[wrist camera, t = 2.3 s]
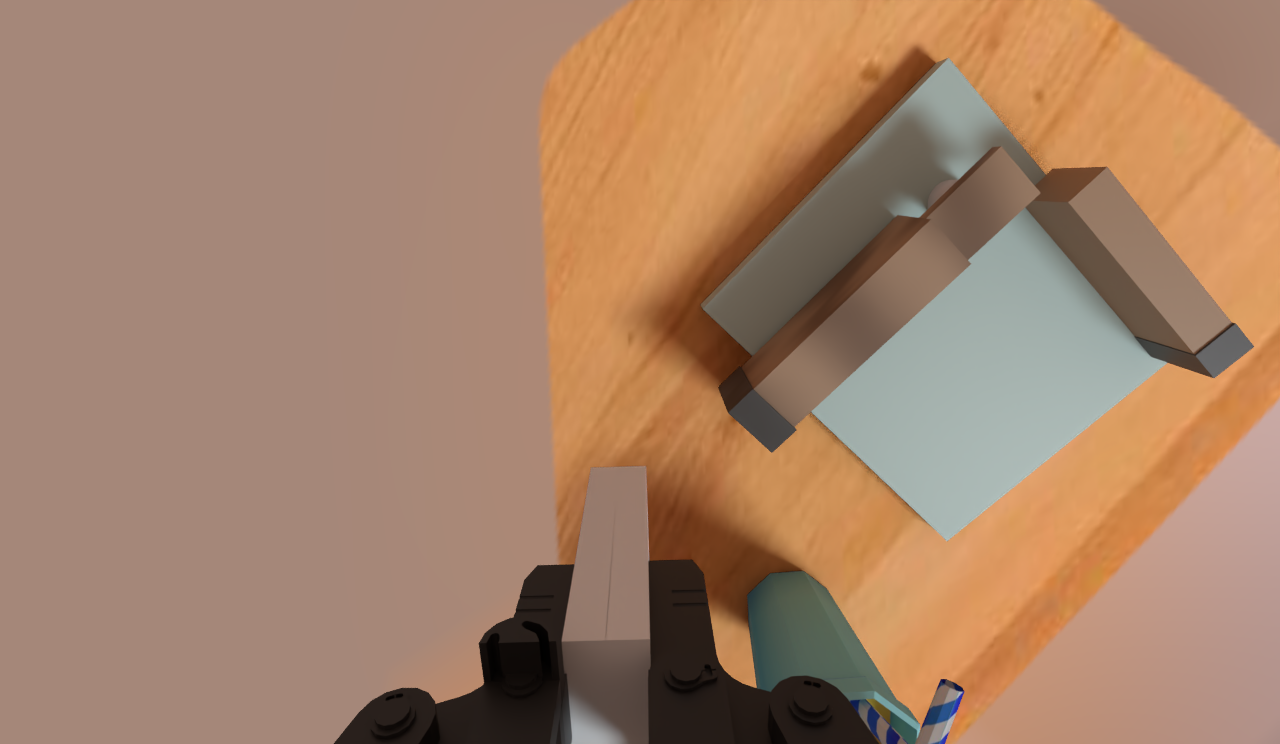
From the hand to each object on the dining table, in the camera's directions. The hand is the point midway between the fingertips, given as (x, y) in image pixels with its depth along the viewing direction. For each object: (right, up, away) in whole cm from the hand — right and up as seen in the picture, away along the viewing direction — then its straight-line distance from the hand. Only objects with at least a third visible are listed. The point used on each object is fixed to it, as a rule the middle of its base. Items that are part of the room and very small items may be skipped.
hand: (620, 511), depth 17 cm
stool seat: (+16, +7, +16) cm, 24 cm away
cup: (+10, -10, +21) cm, 26 cm away
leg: (+11, +8, +14) cm, 20 cm away
